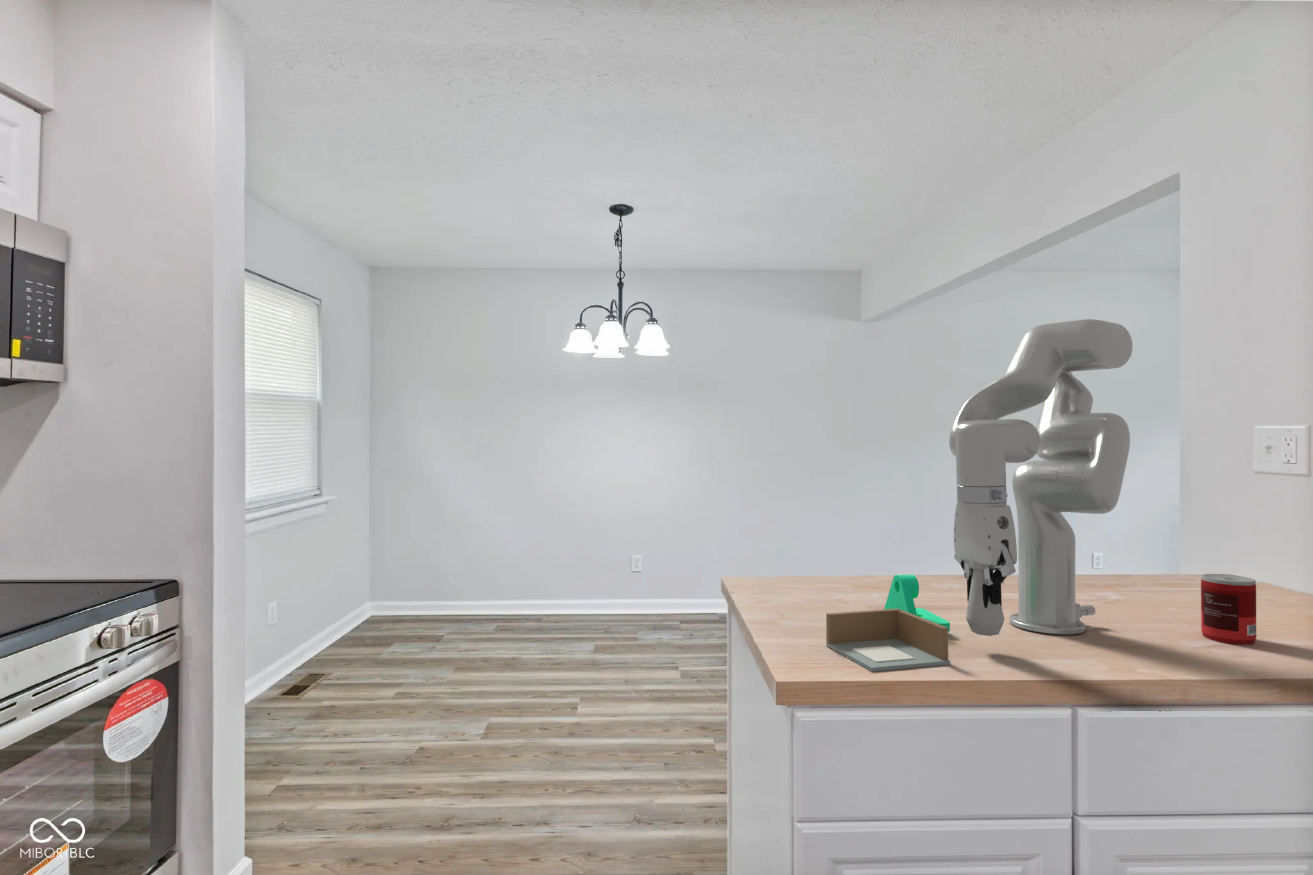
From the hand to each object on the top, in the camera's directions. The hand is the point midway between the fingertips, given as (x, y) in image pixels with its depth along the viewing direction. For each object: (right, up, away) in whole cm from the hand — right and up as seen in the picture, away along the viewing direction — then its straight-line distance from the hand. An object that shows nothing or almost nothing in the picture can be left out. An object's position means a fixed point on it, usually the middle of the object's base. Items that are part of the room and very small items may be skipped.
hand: (984, 603), depth 117 cm
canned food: (+47, -8, +8) cm, 49 cm away
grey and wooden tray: (-17, -8, -2) cm, 19 cm away
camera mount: (-6, -9, +15) cm, 18 cm away
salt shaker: (0, -5, 0) cm, 5 cm away
